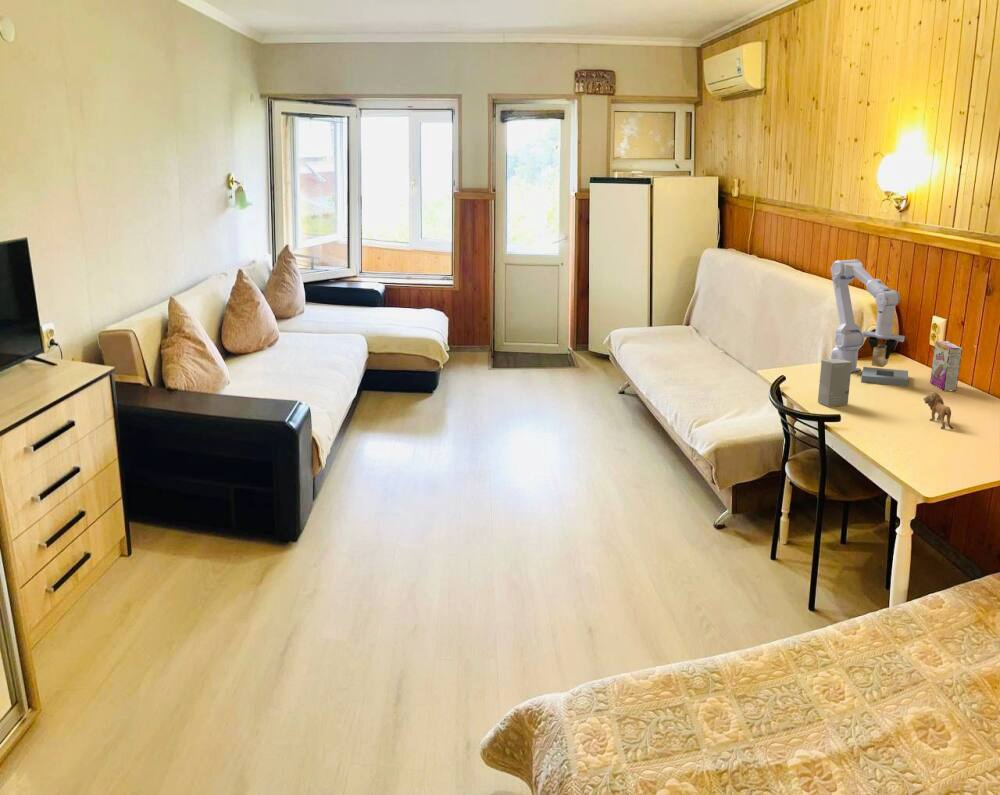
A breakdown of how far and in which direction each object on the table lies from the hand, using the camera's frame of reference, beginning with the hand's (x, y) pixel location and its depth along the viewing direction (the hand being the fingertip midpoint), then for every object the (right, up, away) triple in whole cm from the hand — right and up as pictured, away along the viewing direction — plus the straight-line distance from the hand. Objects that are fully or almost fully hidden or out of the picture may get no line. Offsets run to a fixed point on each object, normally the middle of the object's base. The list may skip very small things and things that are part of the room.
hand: (880, 357), depth 316 cm
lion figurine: (-2, -24, -44) cm, 50 cm away
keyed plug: (0, -3, +1) cm, 3 cm away
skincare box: (-27, -18, -22) cm, 39 cm away
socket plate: (+4, -8, +5) cm, 10 cm away
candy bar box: (+20, -11, -6) cm, 24 cm away
